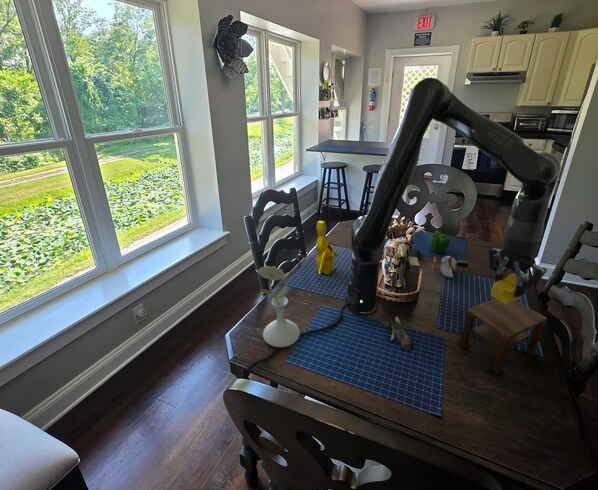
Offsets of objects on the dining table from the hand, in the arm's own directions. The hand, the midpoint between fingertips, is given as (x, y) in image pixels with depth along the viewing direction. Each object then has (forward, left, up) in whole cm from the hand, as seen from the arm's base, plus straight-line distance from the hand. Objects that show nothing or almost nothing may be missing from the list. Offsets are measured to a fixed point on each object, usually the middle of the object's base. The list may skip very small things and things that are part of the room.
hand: (508, 290), depth 87 cm
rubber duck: (0, 0, -2) cm, 2 cm away
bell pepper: (+32, +51, -20) cm, 63 cm away
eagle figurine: (-23, +15, -20) cm, 34 cm away
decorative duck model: (+21, +33, -20) cm, 44 cm away
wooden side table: (0, -1, -20) cm, 20 cm away
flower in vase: (-55, +32, -20) cm, 67 cm away
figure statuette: (-23, +60, -20) cm, 67 cm away
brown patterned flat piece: (+12, +58, -20) cm, 62 cm away
